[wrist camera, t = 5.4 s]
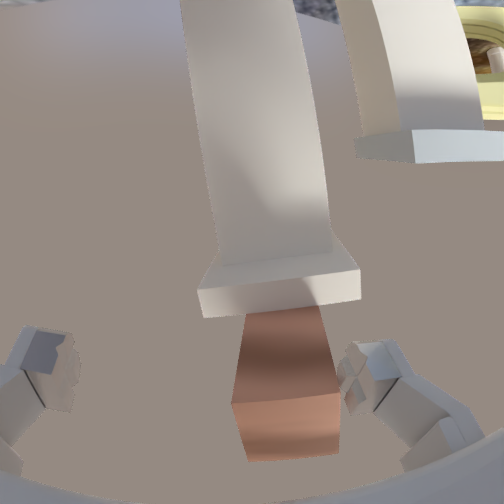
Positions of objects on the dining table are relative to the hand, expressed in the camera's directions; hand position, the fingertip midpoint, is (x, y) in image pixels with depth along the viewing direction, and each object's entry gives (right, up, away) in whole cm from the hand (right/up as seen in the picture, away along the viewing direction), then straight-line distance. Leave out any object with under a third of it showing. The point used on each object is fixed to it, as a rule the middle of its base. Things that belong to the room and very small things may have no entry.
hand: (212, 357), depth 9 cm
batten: (+3, +1, +15) cm, 15 cm away
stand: (+5, +33, +9) cm, 34 cm away
